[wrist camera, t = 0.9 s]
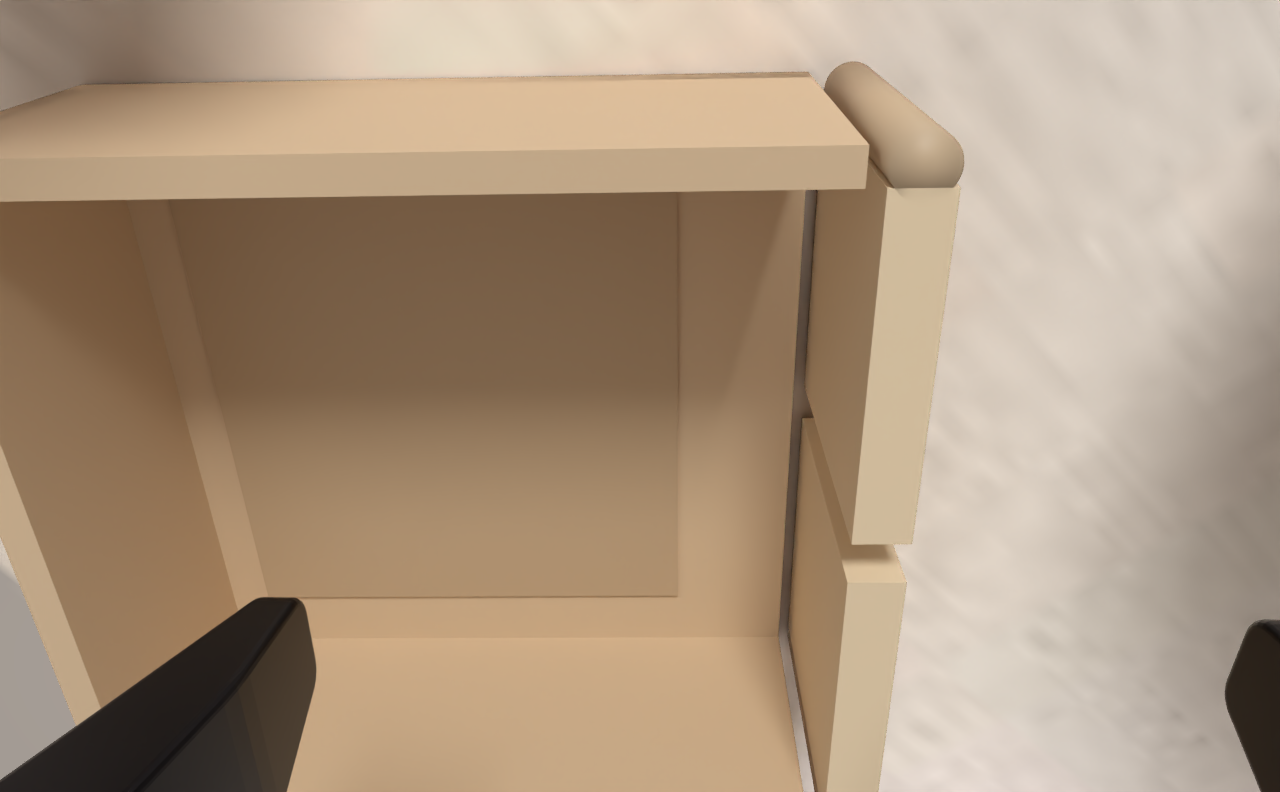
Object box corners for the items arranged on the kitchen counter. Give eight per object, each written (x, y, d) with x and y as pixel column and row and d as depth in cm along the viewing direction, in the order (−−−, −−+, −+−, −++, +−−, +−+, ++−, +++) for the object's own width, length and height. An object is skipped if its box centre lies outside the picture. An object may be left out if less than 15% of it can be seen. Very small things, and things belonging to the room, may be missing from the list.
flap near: (885, 61, 18) (977, 127, 13) (855, 385, 21) (918, 544, 16) (826, 62, 18) (894, 129, 13) (804, 386, 21) (851, 544, 16)
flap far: (851, 417, 21) (912, 582, 16) (830, 650, 25) (874, 850, 19) (802, 417, 21) (847, 582, 16) (787, 650, 25) (820, 849, 19)
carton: (807, 72, 18) (869, 144, 13) (774, 638, 25) (806, 842, 19) (80, 84, 19) (-150, 161, 13) (236, 640, 25) (122, 841, 20)
